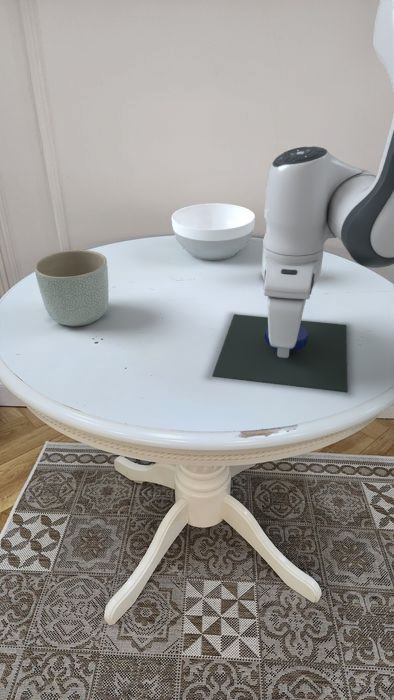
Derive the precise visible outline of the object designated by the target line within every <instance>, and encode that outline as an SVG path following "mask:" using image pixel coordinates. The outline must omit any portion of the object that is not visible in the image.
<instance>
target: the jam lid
mask: <svg viewBox="0 0 394 700" xmlns="http://www.w3.org/2000/svg"><path fill="white" fill-rule="evenodd" d="M307 336H308V334H307V330H306V329H305V328H304V327H303V326H301V325H300V329H299V333H298V337H297V341H296V344H295V346H294V348H291V349H290V350H289V351H295V350H299V349H301V348H303V347H304V346H305V345H306V344H307ZM265 339H266V343H267V344H268V345H269V346H270V347H272V346H271V345H270V342H269V333H268V327H267V329H266V333H265ZM272 348H274V349H277V350H278V347H272Z"/></svg>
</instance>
